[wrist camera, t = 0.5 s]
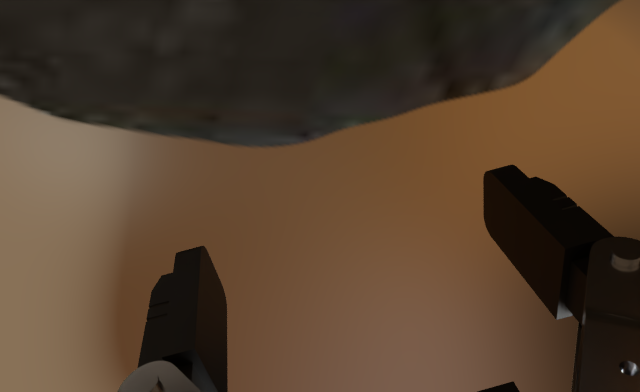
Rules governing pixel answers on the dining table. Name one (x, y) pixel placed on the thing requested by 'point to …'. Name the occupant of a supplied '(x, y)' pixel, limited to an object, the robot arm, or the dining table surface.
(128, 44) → the dining table surface
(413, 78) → the dining table surface
